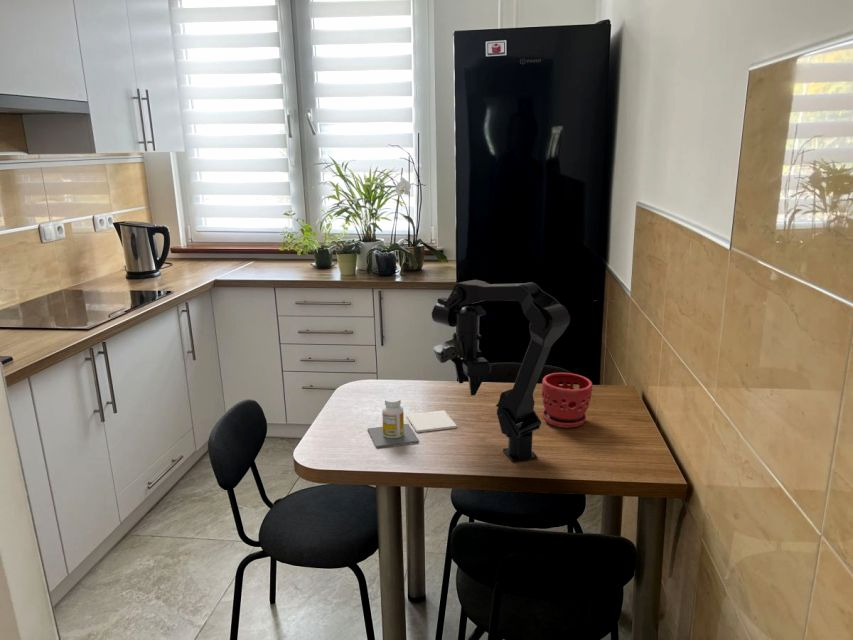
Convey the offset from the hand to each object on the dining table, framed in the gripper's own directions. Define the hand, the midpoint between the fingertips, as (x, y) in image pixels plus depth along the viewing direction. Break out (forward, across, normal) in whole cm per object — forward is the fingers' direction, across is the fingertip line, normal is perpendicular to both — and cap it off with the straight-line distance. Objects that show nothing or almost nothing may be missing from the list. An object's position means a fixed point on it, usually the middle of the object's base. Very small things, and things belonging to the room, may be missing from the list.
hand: (466, 389), depth 164 cm
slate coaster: (+12, -3, -19) cm, 23 cm away
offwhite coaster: (+12, -9, -7) cm, 17 cm away
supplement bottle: (+12, -3, -19) cm, 22 cm away
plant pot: (+12, +1, +28) cm, 31 cm away
